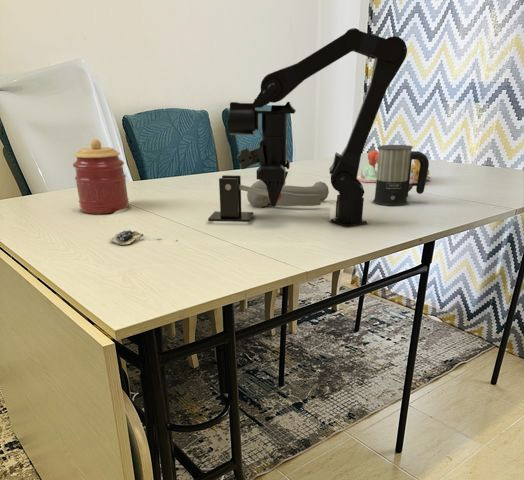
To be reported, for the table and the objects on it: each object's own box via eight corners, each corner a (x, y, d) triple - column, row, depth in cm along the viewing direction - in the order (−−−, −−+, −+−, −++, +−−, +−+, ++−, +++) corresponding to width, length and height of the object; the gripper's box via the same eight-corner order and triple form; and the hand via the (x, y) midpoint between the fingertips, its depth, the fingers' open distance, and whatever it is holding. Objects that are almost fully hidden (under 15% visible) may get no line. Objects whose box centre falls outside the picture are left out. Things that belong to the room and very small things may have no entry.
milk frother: (380, 206, 140) (386, 148, 133) (359, 195, 153) (363, 142, 146) (428, 204, 142) (437, 147, 135) (403, 193, 156) (409, 140, 149)
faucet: (331, 197, 155) (321, 216, 133) (264, 192, 159) (243, 210, 136) (333, 173, 152) (324, 189, 129) (264, 169, 156) (243, 183, 133)
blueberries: (146, 234, 116) (145, 226, 115) (139, 244, 109) (138, 235, 108) (115, 235, 116) (114, 226, 115) (107, 245, 108) (106, 236, 108)
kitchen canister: (125, 214, 134) (116, 141, 126) (75, 215, 133) (62, 142, 125) (132, 203, 146) (124, 136, 138) (86, 204, 145) (75, 137, 137)
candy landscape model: (429, 175, 184) (433, 147, 180) (433, 187, 164) (437, 156, 159) (358, 173, 189) (360, 146, 185) (353, 184, 169) (356, 154, 164)
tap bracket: (253, 216, 131) (252, 174, 126) (249, 224, 124) (248, 180, 119) (214, 216, 132) (212, 174, 127) (208, 223, 125) (205, 179, 120)
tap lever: (280, 202, 126) (283, 188, 124) (279, 205, 123) (282, 191, 121) (224, 189, 126) (226, 175, 124) (222, 192, 123) (224, 177, 121)
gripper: (245, 131, 126) (246, 196, 134) (232, 139, 110) (234, 212, 117) (290, 131, 125) (289, 197, 133) (284, 139, 109) (283, 213, 116)
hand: (273, 204), depth 125 cm, fingers closed on tap lever, 3 cm apart
